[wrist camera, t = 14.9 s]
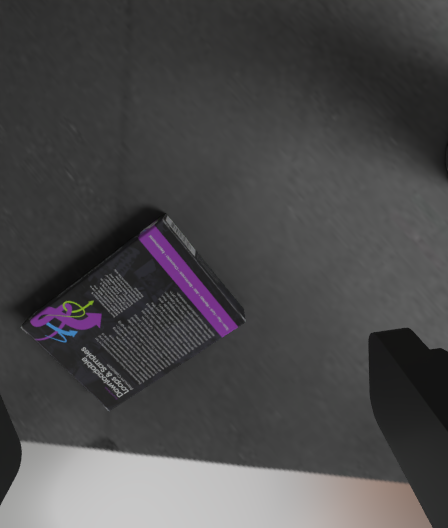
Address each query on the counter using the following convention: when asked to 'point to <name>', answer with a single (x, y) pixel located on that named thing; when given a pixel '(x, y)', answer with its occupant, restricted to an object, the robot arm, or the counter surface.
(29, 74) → the counter surface
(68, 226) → the counter surface
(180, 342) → the box
